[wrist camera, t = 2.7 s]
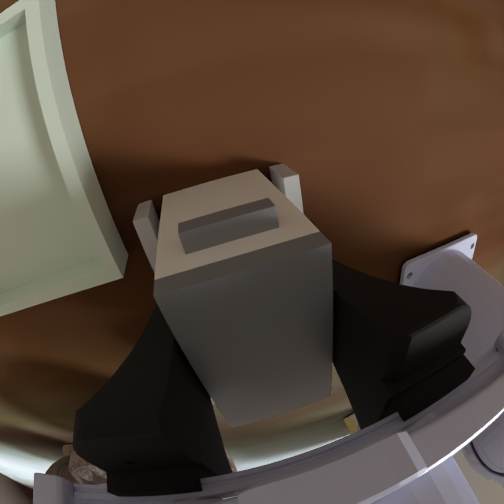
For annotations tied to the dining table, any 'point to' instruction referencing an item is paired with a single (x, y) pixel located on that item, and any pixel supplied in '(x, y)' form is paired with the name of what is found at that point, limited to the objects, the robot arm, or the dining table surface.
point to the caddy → (247, 295)
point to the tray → (46, 172)
